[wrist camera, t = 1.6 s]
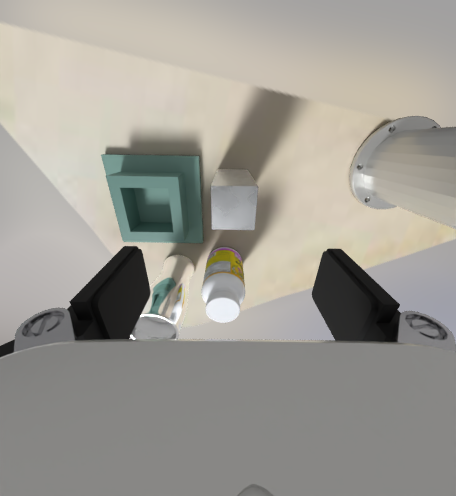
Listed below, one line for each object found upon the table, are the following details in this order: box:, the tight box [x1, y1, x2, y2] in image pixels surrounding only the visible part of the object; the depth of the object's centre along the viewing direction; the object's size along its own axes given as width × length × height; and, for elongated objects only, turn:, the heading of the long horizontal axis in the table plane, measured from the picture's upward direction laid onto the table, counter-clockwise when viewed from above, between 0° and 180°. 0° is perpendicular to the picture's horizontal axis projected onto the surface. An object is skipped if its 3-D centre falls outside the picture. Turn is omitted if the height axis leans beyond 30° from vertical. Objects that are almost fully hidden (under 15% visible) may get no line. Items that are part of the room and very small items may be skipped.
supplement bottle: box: [202, 247, 245, 322], centre depth 33 cm, size 7×7×13 cm
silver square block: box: [211, 169, 258, 230], centre depth 26 cm, size 4×4×13 cm
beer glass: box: [131, 255, 195, 339], centre depth 32 cm, size 7×7×15 cm
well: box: [101, 154, 203, 243], centre depth 31 cm, size 14×14×5 cm
